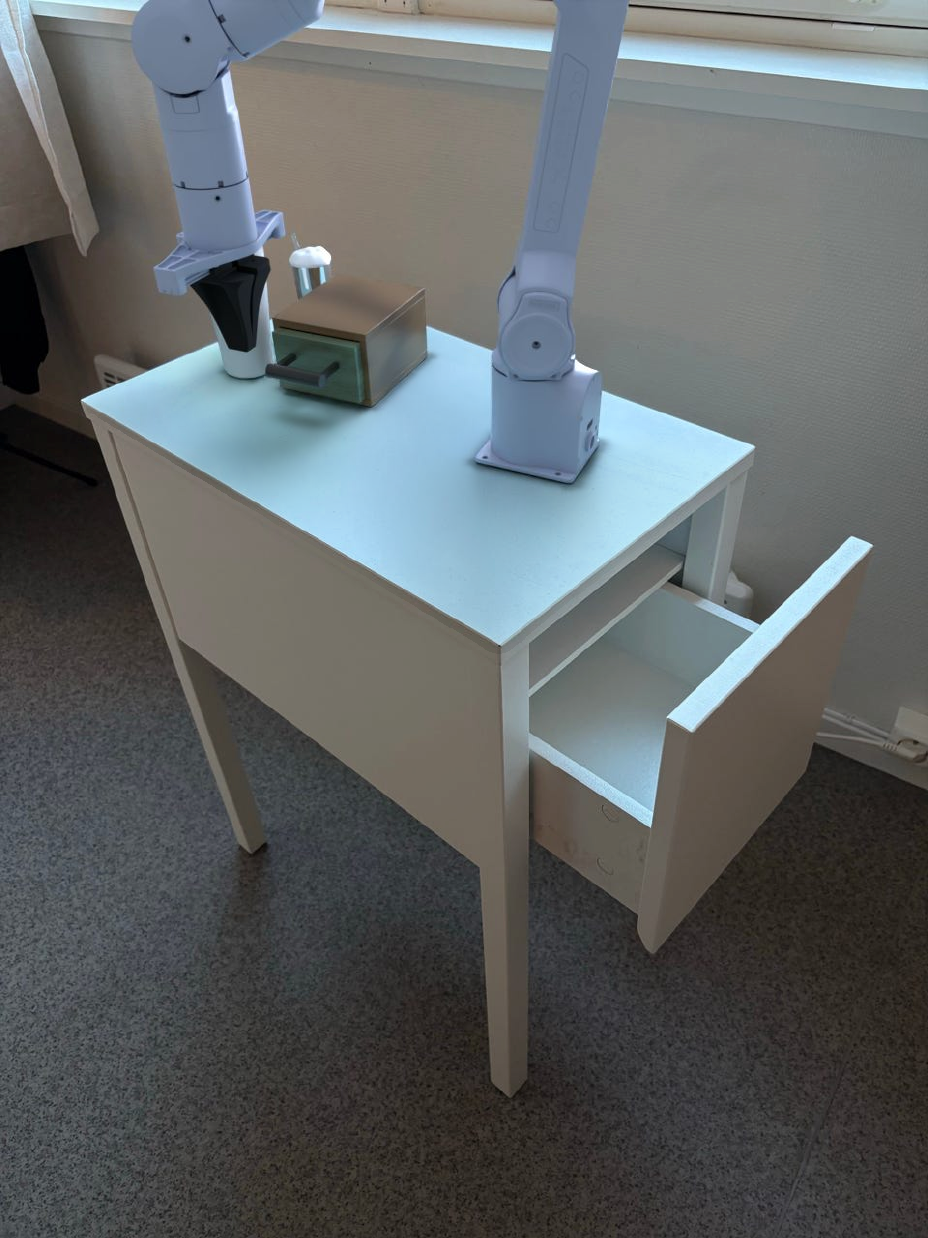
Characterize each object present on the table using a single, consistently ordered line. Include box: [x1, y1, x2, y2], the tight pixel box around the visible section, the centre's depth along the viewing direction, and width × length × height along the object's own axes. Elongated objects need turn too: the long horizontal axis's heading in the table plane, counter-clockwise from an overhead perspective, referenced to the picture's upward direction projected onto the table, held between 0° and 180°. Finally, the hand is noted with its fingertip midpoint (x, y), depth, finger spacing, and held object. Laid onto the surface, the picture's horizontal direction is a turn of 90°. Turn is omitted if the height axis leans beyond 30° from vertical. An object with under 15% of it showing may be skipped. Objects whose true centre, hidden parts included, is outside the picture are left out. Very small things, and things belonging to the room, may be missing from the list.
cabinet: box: [271, 273, 429, 408], centre depth 95 cm, size 13×11×8 cm
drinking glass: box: [207, 244, 275, 379], centre depth 94 cm, size 7×7×15 cm
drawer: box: [264, 328, 366, 403], centre depth 93 cm, size 16×9×6 cm, turn 155°
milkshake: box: [288, 232, 332, 300], centre depth 103 cm, size 5×5×10 cm
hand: (242, 347), depth 79 cm, fingers closed
